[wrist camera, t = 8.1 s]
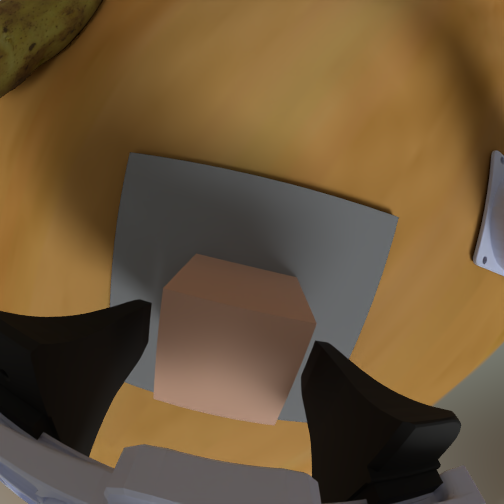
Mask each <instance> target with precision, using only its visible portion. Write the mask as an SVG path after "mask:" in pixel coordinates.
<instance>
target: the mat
mask: <svg viewBox="0 0 504 504" xmlns="http://www.w3.org/2000/svg"><path fill="white" fill-rule="evenodd" d="M398 218H399V217H396V216H394V215H391V214H388V213H385V212H382V211H379V210H376V209H373V208H370V207H367V206H364V205H361V204H358V203H354V202H351V201H348V200H345V199H342V198H338V197H335V196H331V195H328V194H325V193H321V192H318V191H314V190H311V189H307V188H303V187H300V186H296V185H292V184H288V183H284V182H280V181H276V180H272V179H268V178H264V177H260V176H256V175H251V174H247V173H243V172H238V171H234V170H229V169H224V168H219V167H214V166H209V165H204V164H199V163H194V162H188V161H183V160H177V159H171V158H165V157H159V156H152V155H146V154H139V153H131V152H130V155H129V159H128V164H127V168H126V173H125V178H124V183H123V188H122V194H121V200H120V206H119V212H118V219H117V226H116V234H115V243H114V252H113V263H112V276H111V294H110V307H113V306H116V305H119V304H123V303H126V302H129V301H133V300H137V299H141V300H144V301H147V302H151V303H152V306H151V317H150V328H149V342H148V344H147V346H146V348H145V350H144V352H143V354H142V356H141V358H140V360H139V361H138V363H137V364H136V366H135V367H134V369H133V370H132V372H131V373H130V374H129V376H128V377H127V379H126V380H125V382H126V383H129V384H131V385H134V386H137V387H140V388H143V389H146V390H149V391H152V392H154V379H155V363H156V350H157V338H158V328H159V319H160V310H161V301H162V293H163V288H164V287H165V286H166V285H167V284H168V282H169V281H170V280H171V279H172V278H173V277H174V276H175V275H176V274H177V273H178V272H179V271H180V270H181V269H182V268H183V267H184V266H185V265H186V264H187V263H188V262H189V261H190V260H191V258H192V257H193V256H194V255H195V254H200V255H204V256H208V257H213V258H217V259H221V260H225V261H229V262H233V263H238V264H242V265H246V266H250V267H255V268H259V269H263V270H267V271H272V272H276V273H280V274H285V275H289V276H293V277H297V279H298V282H299V284H300V286H301V288H302V291H303V293H304V295H305V297H306V300H307V302H308V304H309V307H310V309H311V311H312V314H313V316H314V318H315V321H316V323H317V324H316V327H315V330H314V332H313V335H312V338H311V340H310V343H309V346H308V348H307V351H306V353H305V356H304V359H303V361H302V364H301V366H300V368H299V371H298V373H297V376H296V378H295V381H294V383H293V385H292V388H291V390H290V392H289V395H288V397H287V399H286V401H285V404H284V406H283V408H282V410H281V412H280V415H279V417H278V420H286V421H296V422H307V419H306V414H305V409H304V404H303V400H302V393H301V375H302V372H303V370H304V367H305V365H306V363H307V360H308V358H309V355H310V353H311V350H312V348H313V345H314V342H315V340H316V341H322V342H328V343H330V344H331V345H332V346H334V347H335V348H336V349H337V350H339V351H340V352H341V353H342V354H343V355H344V356H346V357H347V358H348V359H349V357H350V355H351V353H352V350H353V348H354V346H355V344H356V341H357V339H358V337H359V334H360V332H361V330H362V327H363V325H364V322H365V320H366V317H367V315H368V312H369V309H370V307H371V304H372V302H373V299H374V296H375V293H376V290H377V288H378V285H379V282H380V279H381V276H382V273H383V270H384V267H385V264H386V260H387V257H388V254H389V251H390V247H391V244H392V240H393V237H394V233H395V230H396V226H397V222H398Z"/></svg>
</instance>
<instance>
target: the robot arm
mask: <svg viewBox="0 0 504 504" xmlns="http://www.w3.org/2000/svg"><path fill="white" fill-rule="evenodd" d="M473 262H474V264H475V265H478V266H480V267H483V268H485V269H488V270H490V271H493V272H495V273H498V274H500V275H502V276H504V155H503V154H502V153H500V152H499V151H493V152H492V155H491V166H490V176H489V184H488V191H487V197H486V203H485V209H484V214H483V219H482V224H481V228H480V233H479V237H478V241H477V245H476V249H475V252H474V256H473ZM151 306H152V303H151V302H147V301H144V300H141V299H137V300H133V301H129V302H126V303H123V304H119V305H116V306H113V307H110V308H106V309H102V310H98V311H94V312H90V313H86V314H80V315H73V316H62V317H35V316H25V315H18V314H13V313H8V312H3V311H0V481H1V482H2V483H3V484H5V485H6V486H7V487H8V488H10V490H12V491H13V492H14V493H15V494H17V495H18V496H19V497H20V498H22V499H23V500H24V501H25V502H27V503H28V504H485V503H486V502H485V501H484V499H483V497H482V495H481V493H480V492H479V490H478V488H477V486H476V484H475V483H474V481H473V479H472V478H471V476H470V474H469V473H468V471H467V469H466V468H465V466H464V465H460V466H458V467H455V468H452V469H449V470H447V471H445V472H443V473H441V474H440V475H439V474H438V472H437V470H436V469H438V468H439V467H440V465H441V464H440V463H439V461H438V459H439V458H440V456H441V455H442V454H443V453H444V452H445V451H446V450H447V449H448V448H449V446H450V445H451V444H452V443H453V442H454V440H455V439H456V438H457V436H458V434H459V432H460V428H461V423H460V421H459V419H458V418H457V417H456V415H455V414H454V413H453V412H452V411H449V410H444V409H440V408H436V407H432V406H428V405H425V404H422V403H420V402H417V401H414V400H412V399H409V398H407V397H405V396H403V395H400V394H398V393H396V392H394V391H392V390H391V389H389V388H387V387H385V386H384V385H382V384H381V383H379V382H377V381H376V380H374V379H373V378H372V377H370V376H369V375H368V374H366V373H365V372H364V371H362V370H361V369H360V368H359V367H357V366H356V365H355V364H354V363H353V362H351V361H350V360H349V359H348V358H347V357H346V356H344V355H343V354H342V353H341V352H340V351H339V350H337V349H336V348H335V347H334V346H332V345H331V344H330V343H328V342H322V341H316V340H315V342H314V345H313V348H312V350H311V353H310V355H309V358H308V360H307V363H306V365H305V367H304V370H303V372H302V375H301V393H302V400H303V404H304V409H305V414H306V419H307V423H308V428H309V433H310V440H311V454H312V477H311V476H310V475H308V474H306V473H304V472H298V471H293V470H288V469H282V468H269V467H259V466H251V465H243V464H237V463H230V462H224V461H219V460H214V459H209V458H204V457H200V456H195V455H191V454H187V453H183V452H179V451H175V450H172V449H168V448H162V447H157V446H151V445H146V444H144V445H137V446H132V447H126V448H124V449H123V452H122V454H121V456H120V458H119V460H118V462H117V464H116V467H115V469H114V468H112V467H109V466H107V465H105V464H102V463H100V462H98V461H96V460H94V459H92V458H89V455H90V452H91V449H92V446H93V444H94V441H95V438H96V436H97V433H98V431H99V428H100V426H101V424H102V422H103V419H104V417H105V415H106V413H107V411H108V409H109V407H110V405H111V402H112V400H113V398H114V397H115V395H116V393H117V392H118V390H119V389H120V387H121V386H122V384H123V383H124V382H125V380H126V379H127V377H128V376H129V374H130V373H131V372H132V370H133V369H134V367H135V366H136V364H137V363H138V361H139V360H140V358H141V356H142V354H143V352H144V350H145V348H146V346H147V344H148V342H149V328H150V317H151Z"/></svg>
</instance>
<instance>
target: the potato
mask: <svg viewBox="0 0 504 504" xmlns="http://www.w3.org/2000/svg"><path fill="white" fill-rule="evenodd" d="M101 1H102V0H1V1H0V98H1V97H2V96H4V95H5V94H7V93H8V92H9V91H11V90H13V89H15V88H16V87H17V86H18V85H20V84H21V83H22V82H23V81H25V79H26V78H27V77H29V76H30V75H31V73H32V72H33V71H34V70H35V68H37V67H38V66H40V65H41V64H43V63H44V62H46V61H47V60H49V59H50V58H52V57H53V56H55V55H56V54H58V53H59V52H60V51H61V50H63V49H64V48H65V47H66V46H67V45H68V44H69V43H70V42H71V41H72V40H73V39H74V37H75V36H76V35H77V34H78V33H79V32H80V31H81V29H82V28H83V27H84V26H85V25H86V23H87V22H88V21H89V19H90V18H91V17H92V15H93V14H94V12H95V11H96V9H97V8H98V6H99V4H100V3H101Z"/></svg>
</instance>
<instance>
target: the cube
mask: <svg viewBox="0 0 504 504" xmlns="http://www.w3.org/2000/svg"><path fill="white" fill-rule="evenodd" d="M316 324H317V323H316V321H315V318H314V316H313V314H312V311H311V309H310V307H309V304H308V302H307V300H306V297H305V295H304V293H303V291H302V288H301V286H300V284H299V282H298V279H297V277H293V276H289V275H285V274H280V273H276V272H272V271H267V270H263V269H259V268H255V267H250V266H246V265H242V264H238V263H233V262H229V261H225V260H221V259H217V258H213V257H208V256H204V255H200V254H195V255H194V256H193V257H192V258H191V260H190V261H189V262H188V263H187V264H186V265H185V266H184V267H183V268H182V269H181V270H180V271H179V272H178V273H177V274H176V275H175V276H174V277H173V278H172V279H171V280H170V281H169V282H168V284H167V285H166V286H165V287H164V288H163V293H162V301H161V310H160V319H159V328H158V338H157V350H156V363H155V379H154V399H156V400H160V401H163V402H166V403H169V404H173V405H176V406H180V407H184V408H187V409H191V410H195V411H199V412H203V413H208V414H212V415H217V416H221V417H226V418H231V419H237V420H242V421H248V422H254V423H261V424H268V425H275V423H276V421H277V419H278V417H279V415H280V412H281V410H282V408H283V406H284V404H285V401H286V399H287V397H288V395H289V392H290V390H291V388H292V385H293V383H294V381H295V378H296V376H297V373H298V371H299V368H300V366H301V364H302V361H303V359H304V356H305V353H306V351H307V348H308V346H309V343H310V340H311V338H312V335H313V332H314V330H315V327H316Z"/></svg>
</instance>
